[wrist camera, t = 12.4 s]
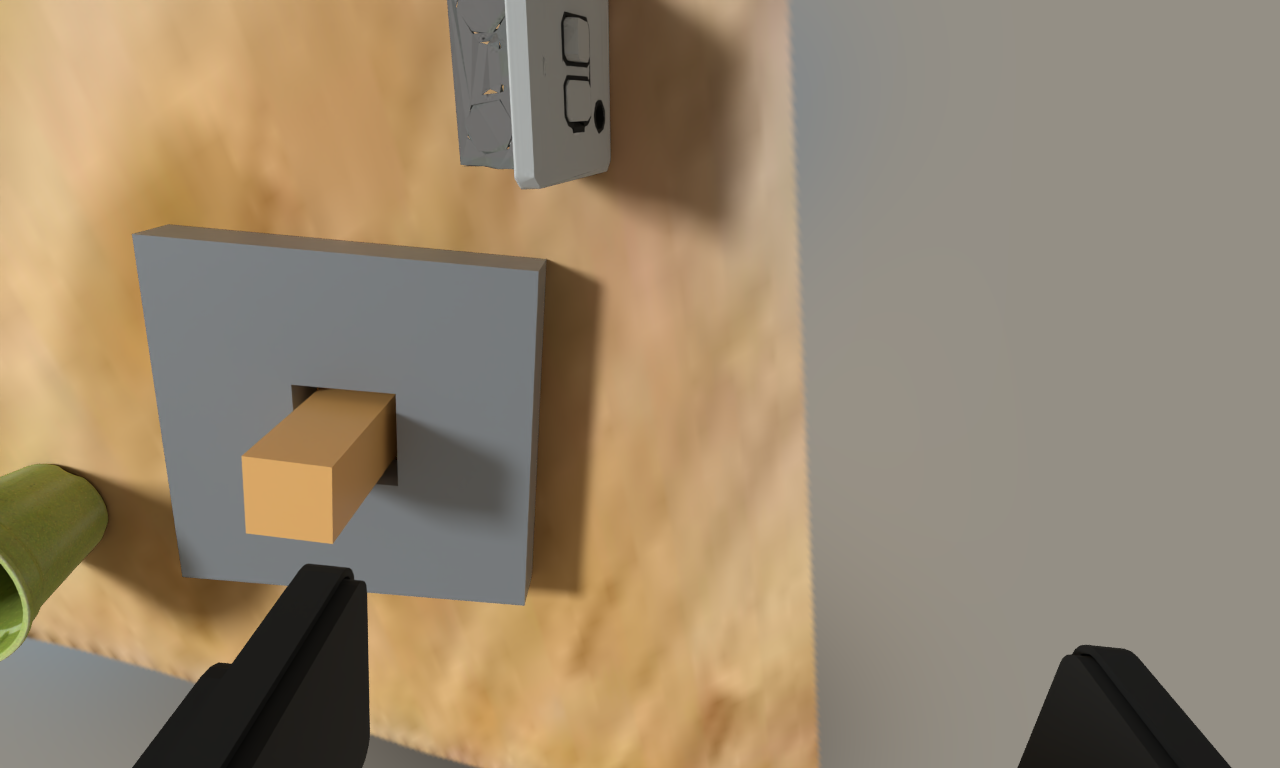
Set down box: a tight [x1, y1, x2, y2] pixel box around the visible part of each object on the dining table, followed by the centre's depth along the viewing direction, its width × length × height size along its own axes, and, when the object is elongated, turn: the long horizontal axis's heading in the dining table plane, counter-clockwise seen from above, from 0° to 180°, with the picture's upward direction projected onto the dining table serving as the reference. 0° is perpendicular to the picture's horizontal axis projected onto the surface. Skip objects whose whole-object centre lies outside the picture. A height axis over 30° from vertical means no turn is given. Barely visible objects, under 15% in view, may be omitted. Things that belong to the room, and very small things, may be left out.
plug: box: [241, 387, 397, 544], centre depth 39 cm, size 4×4×10 cm
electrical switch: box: [447, 0, 611, 189], centre depth 33 cm, size 9×5×9 cm, turn 0°
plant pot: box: [0, 464, 108, 661], centre depth 42 cm, size 9×9×9 cm
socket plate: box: [132, 225, 547, 606], centre depth 42 cm, size 20×20×3 cm
